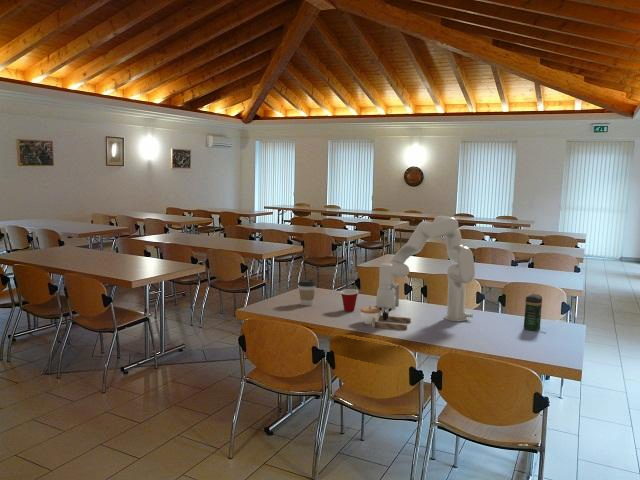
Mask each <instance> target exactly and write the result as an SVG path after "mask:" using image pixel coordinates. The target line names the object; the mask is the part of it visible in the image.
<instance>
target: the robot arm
mask: <svg viewBox="0 0 640 480" xmlns="http://www.w3.org/2000/svg"><path fill="white" fill-rule="evenodd" d="M441 237H445V242H446V251H447V257H448V259H449V260H450V261H452V262H454V263H451V264H450V265H449V266H448V268H447V271H446V272H447V286H448V287H447V306H446V307H447V309H446V310H447V311H446V314H445V315H443V318H444V320H446V321H451V322H466V321H467V320H468V318H473V313H471V312H469V313H468V312H466V293H467V291H466V290H467V289H466V284H470V283H472V282H473V281H474V279H475V274H476V271H475V270H476V269H475V259H474V253H473V252H472V250H471V249H470V247H468V246H464V245H463V239H462V234H461V230H460V228H459V222H458V220H457V219H456V218H455V217H452V216H446V215H438V216H436V217H435V218H434V219H433V222H432V221H425V220H424V221H421V222H420V223H419V224H418V225H417V226H416V228H415V229H414V231H413V233H412V235H411V236H410V238H409V239H408V240H407V242H406V243H405V244H404V245H403V246H401V248H399V249H398V250H397V252H395V254H394V255H393V256H392V258H391V260H390V262H389V263H388V262H383V263H381V264H379V282H378V285H379V286H378V288H377V292H376V298H375V299H376V300H375V307H376V308H377V309H380V310H381V315H382V318H383V320H387V319H388V316H389V314H390V312H391V311H395V310H396V309H397V307H395V305H396V295H395V289H393V288H394V287H396V285H394V283H393V282H395V281H394V280H395V279H394V278H406V277H407V276H409V274H410V267H409V266H408V265H407V264H406V263H405V262H406V261H407V260H408V259H409V258H410V257H412V256H414V255H417V254H418V253H420V252H421V251H422V249H423V248H424V247H425V244H427V242H428V239H437V238H441ZM383 320H382V321H383Z"/></svg>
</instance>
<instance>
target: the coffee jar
mask: <svg viewBox="0 0 640 480" xmlns="http://www.w3.org/2000/svg"><path fill="white" fill-rule="evenodd" d="M542 307H543V297H542V296H541V295H540V294H537V293H532V294H528V295H527V296H525V307H524V318H523V329H524V330H527V331H530V332H533V331H535V332H537V331H539V330H540V329H541V321H542V319H541V317H542Z"/></svg>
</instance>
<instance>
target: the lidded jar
mask: <svg viewBox="0 0 640 480" xmlns="http://www.w3.org/2000/svg"><path fill="white" fill-rule="evenodd" d="M359 309H360V319H361V320H362V322H363V323H364V324H365V325H372V321H373V318H375V322H379V320H378V319H379V316H380V309H377V308H376V306H372V305H369V306H363V307H360V308H359Z"/></svg>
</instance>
